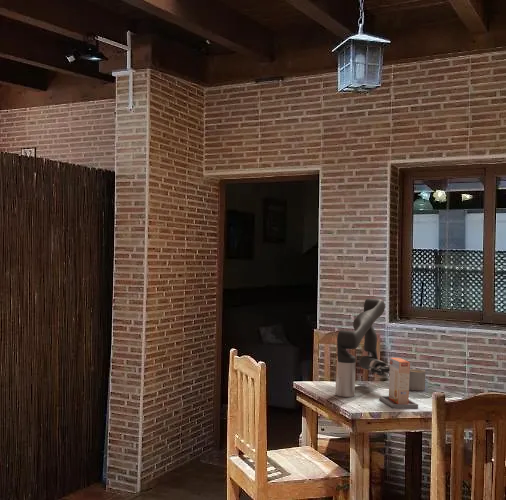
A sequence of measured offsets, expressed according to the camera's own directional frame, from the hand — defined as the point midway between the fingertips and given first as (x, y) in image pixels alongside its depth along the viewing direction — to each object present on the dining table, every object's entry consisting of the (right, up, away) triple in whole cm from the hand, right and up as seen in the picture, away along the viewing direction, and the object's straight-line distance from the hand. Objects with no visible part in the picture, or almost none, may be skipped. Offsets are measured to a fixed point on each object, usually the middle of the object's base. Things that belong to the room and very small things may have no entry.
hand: (388, 372), depth 342 cm
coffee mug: (+19, -14, +28) cm, 36 cm away
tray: (+2, -13, -15) cm, 20 cm away
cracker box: (+2, -12, -13) cm, 18 cm away
